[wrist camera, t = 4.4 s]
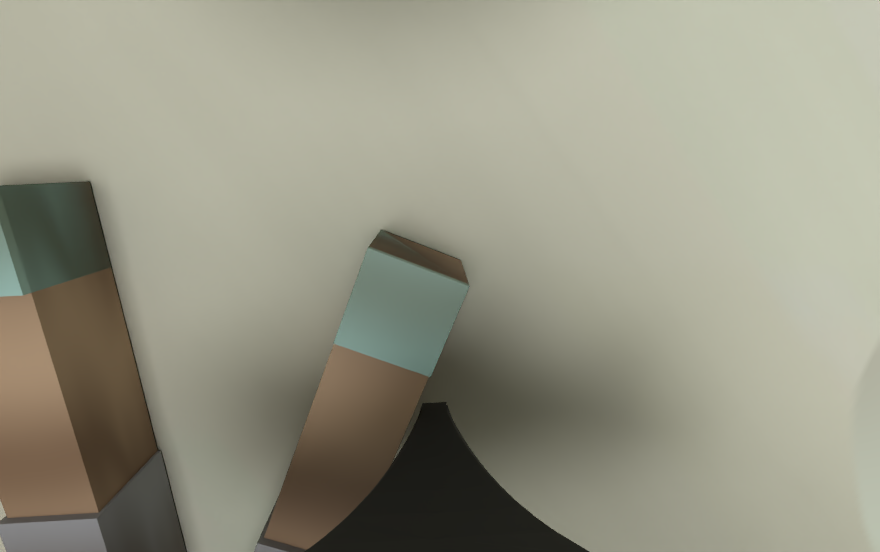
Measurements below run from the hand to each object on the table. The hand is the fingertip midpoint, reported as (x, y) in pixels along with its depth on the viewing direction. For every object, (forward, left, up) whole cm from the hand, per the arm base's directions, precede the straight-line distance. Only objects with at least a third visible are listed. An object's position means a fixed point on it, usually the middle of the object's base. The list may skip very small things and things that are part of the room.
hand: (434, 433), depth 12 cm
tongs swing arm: (-2, +3, -1) cm, 4 cm away
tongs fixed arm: (-2, +9, -1) cm, 10 cm away
